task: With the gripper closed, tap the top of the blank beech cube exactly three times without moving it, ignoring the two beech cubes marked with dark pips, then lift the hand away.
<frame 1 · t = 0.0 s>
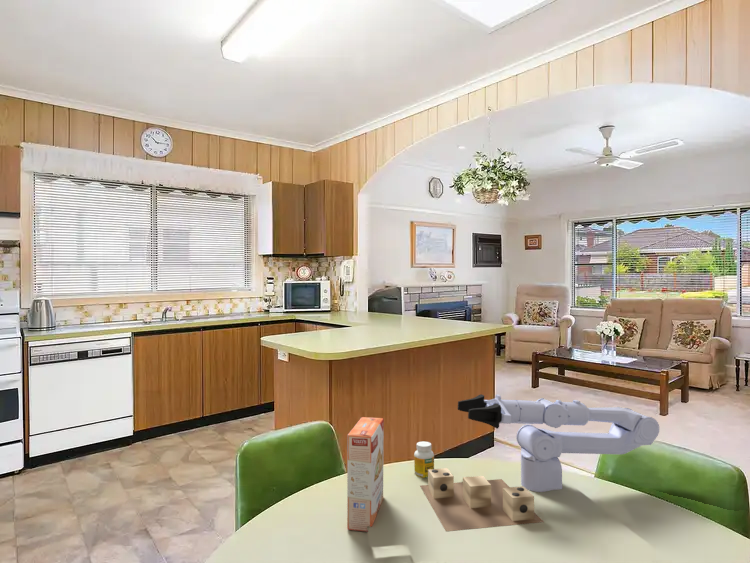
hand: (463, 409, 116), 22 cm above the table, tool horizontal, fingers open, 7 cm apart
walnut board: (476, 508, 111), on the table
cracker box: (367, 517, 108), on the table
pip cube 1: (440, 493, 116), point 1 cm above the table, touching walnut board
blank cube: (476, 502, 111), point 1 cm above the table, touching walnut board
supplement bottle: (424, 479, 127), on the table
pip cube 2: (518, 514, 105), point 1 cm above the table, touching walnut board
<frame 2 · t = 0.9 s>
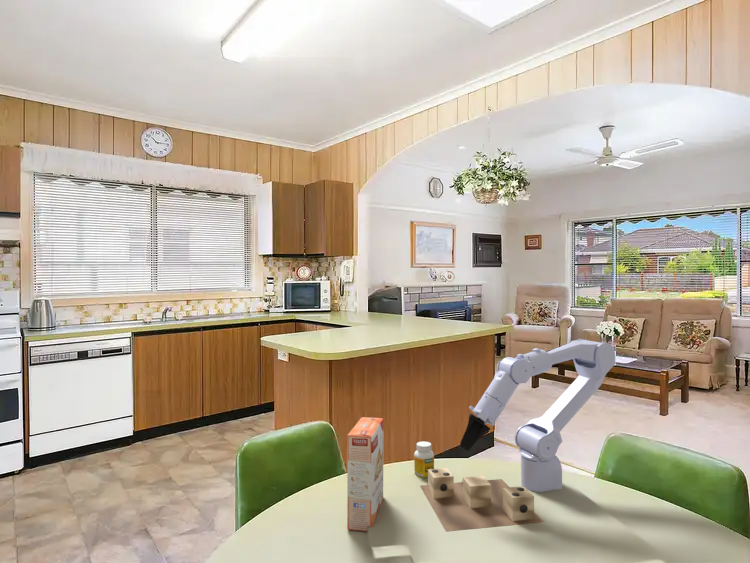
hand: (463, 447, 112), 14 cm above the table, tool tilted 40°, fingers open, 7 cm apart
nothing on the table moved.
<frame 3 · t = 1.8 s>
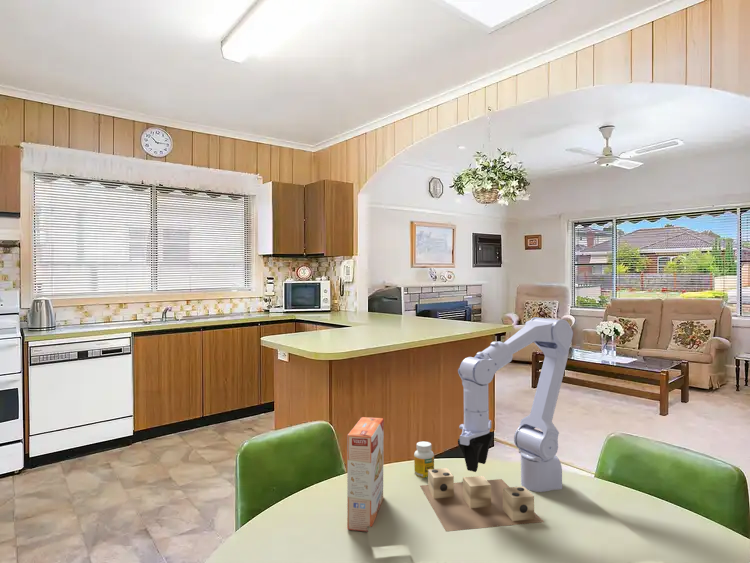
hand: (476, 466, 111), 10 cm above the table, tool pointing down, fingers open, 5 cm apart
nothing on the table moved.
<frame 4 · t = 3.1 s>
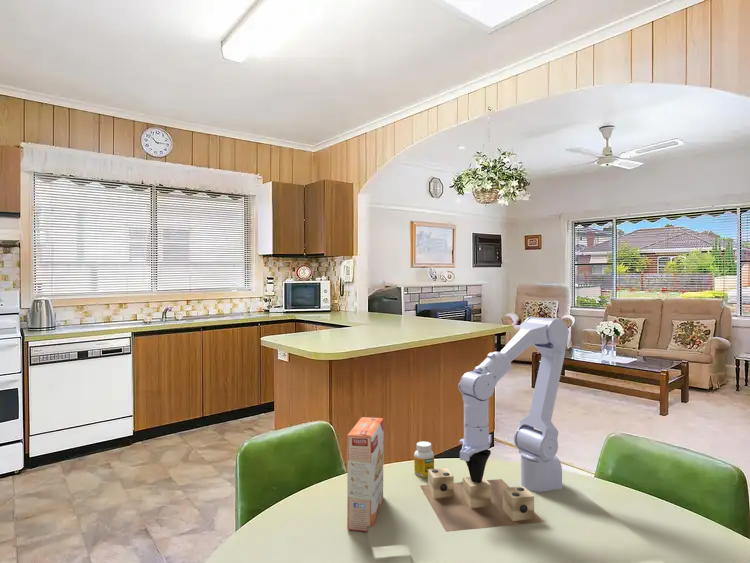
hand: (476, 481, 111), 6 cm above the table, tool pointing down, fingers closed, pressing on blank cube
blank cube: (476, 502, 111), point 1 cm above the table, touching gripper, walnut board
everything else where it was.
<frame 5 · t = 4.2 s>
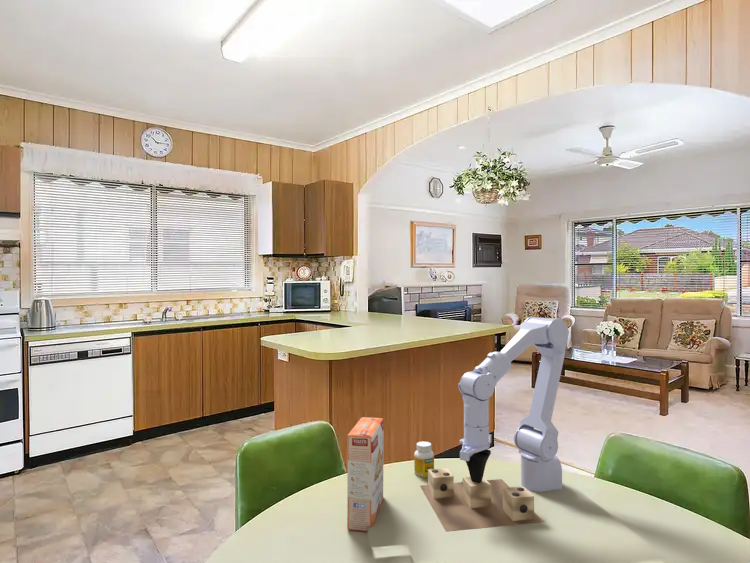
hand: (476, 481, 111), 6 cm above the table, tool pointing down, fingers closed, pressing on blank cube
blank cube: (476, 502, 111), point 1 cm above the table, touching gripper, walnut board
everything else where it was.
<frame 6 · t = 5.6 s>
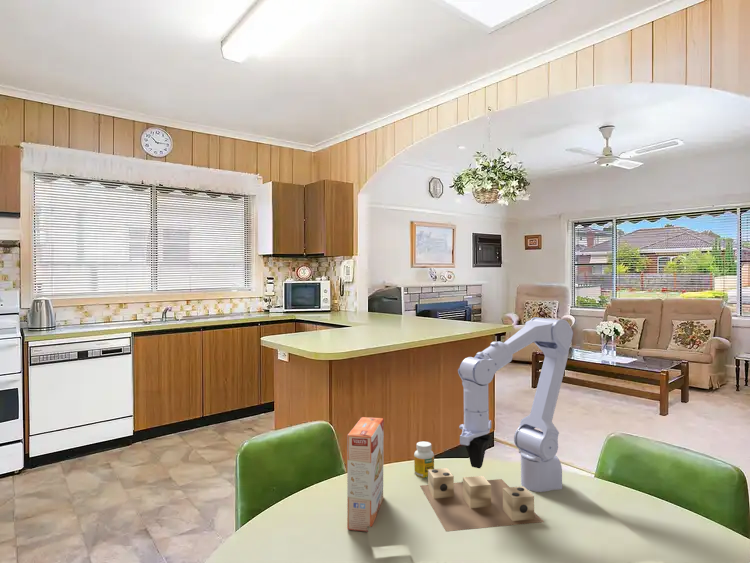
hand: (476, 466, 111), 10 cm above the table, tool pointing down, fingers closed
blank cube: (476, 502, 111), point 1 cm above the table, touching walnut board
everything else where it was.
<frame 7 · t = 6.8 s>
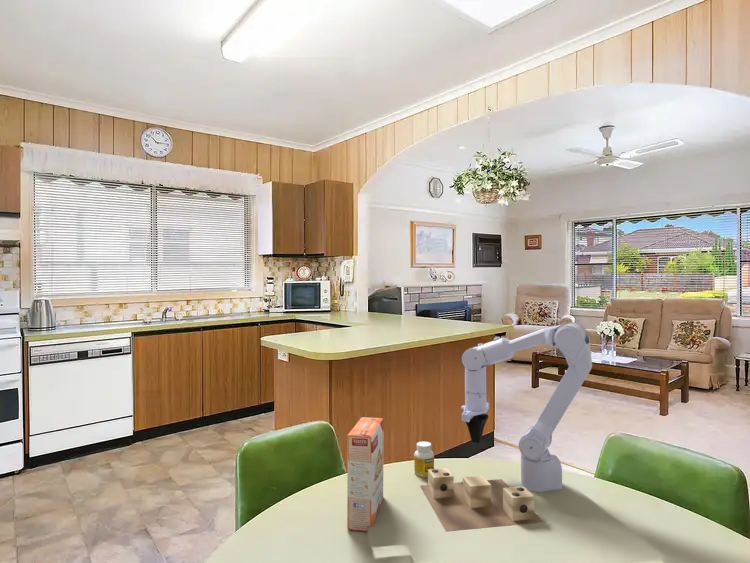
hand: (476, 441, 127), 10 cm above the table, tool pointing down, fingers closed
nothing on the table moved.
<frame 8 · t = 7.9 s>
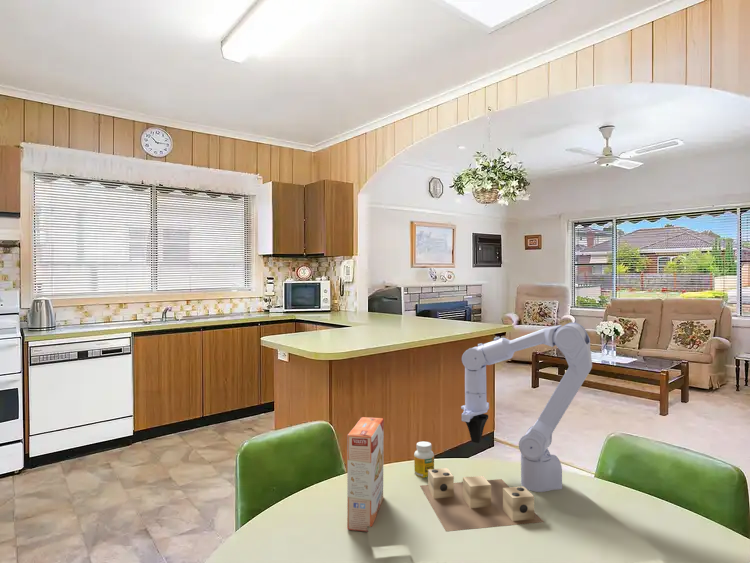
hand: (476, 441, 127), 10 cm above the table, tool pointing down, fingers closed
nothing on the table moved.
at the end: blank cube moved 0.0 cm from its start; pip cube 2 moved 0.0 cm from its start; pip cube 1 moved 0.0 cm from its start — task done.
